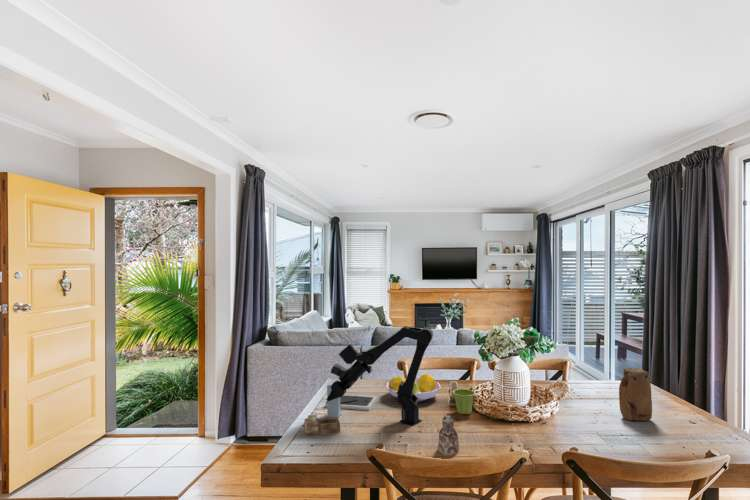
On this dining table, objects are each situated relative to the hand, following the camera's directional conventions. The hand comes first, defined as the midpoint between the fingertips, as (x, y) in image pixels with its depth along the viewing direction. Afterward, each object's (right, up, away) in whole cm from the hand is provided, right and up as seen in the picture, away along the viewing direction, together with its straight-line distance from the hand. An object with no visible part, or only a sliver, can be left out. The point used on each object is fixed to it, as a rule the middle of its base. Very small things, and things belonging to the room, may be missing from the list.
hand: (330, 397), depth 176 cm
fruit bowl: (+37, -9, +23) cm, 45 cm away
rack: (-2, -7, -16) cm, 18 cm away
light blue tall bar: (+2, -8, -1) cm, 8 cm away
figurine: (+45, -6, -34) cm, 57 cm away
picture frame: (+8, -10, +16) cm, 20 cm away
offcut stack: (-6, -6, -17) cm, 19 cm away
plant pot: (+58, -8, +2) cm, 59 cm away
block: (+126, -6, -8) cm, 127 cm away
